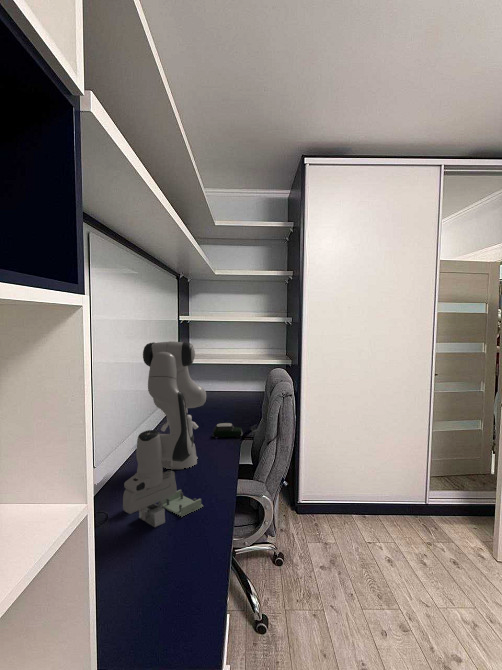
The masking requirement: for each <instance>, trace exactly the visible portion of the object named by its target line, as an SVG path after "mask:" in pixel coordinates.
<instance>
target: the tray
mask: <svg viewBox="0 0 502 670" xmlns="http://www.w3.org/2000/svg"><path fill="white" fill-rule="evenodd" d="M202 507H203V508H204V505H203V504H202V498H198V499H197V498H195V497H194V498H193V499H191V498H189V497H187V496H185V495H184V492H182V489H178V490H177V492H176V494H175V495H173V496H171V497H169V498H166V499H164V503H163V506H162V508H164V509H165V510H167V511H169V512H170V513H172V512H173V514H174V513H175V514H174V515H176V514H177V516H178V515H179V516H178V517H180V516H181V517H180V518H182V517H183V516H185V515H187V514H189V513H191V512H193V513H195V512H196V510H197V511H199V510H201V509H203V508H202ZM200 508H201V509H200ZM198 509H199V510H198ZM194 511H195V512H194ZM191 514H192V513H191ZM189 515H190V514H189ZM187 516H188V515H187ZM185 517H186V516H185ZM183 518H184V517H183Z"/></svg>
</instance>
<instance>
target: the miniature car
mask: <svg viewBox="0 0 502 670" xmlns="http://www.w3.org/2000/svg"><path fill="white" fill-rule="evenodd" d="M241 436H243V428H242V427H241V426H234V425H233V423H232V422H231V423H230V422H223V423H221V422H220V423H217V424H216V425H215V427H214V428H213V430H212V437H214V438H215V437H220V438H229V437H235V439H237V438H239V439H240V438H241Z"/></svg>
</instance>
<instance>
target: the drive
mask: <svg viewBox="0 0 502 670" xmlns="http://www.w3.org/2000/svg"><path fill="white" fill-rule="evenodd" d="M144 512H146V513H148V518H147V519H145V520H143V519H142V514H141V513H140V511H139V510H138V518H139V519H140V520H142V521H144V522H145V523H146V524H149V526H152V527H154V528H157V527H158V526H161V525H163V524H165V523H166V513H165V512H166V509H165V508H163V507H160V506H159V505H158V503H155V504H152V505H150V506H148V507H145V510H144Z"/></svg>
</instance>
